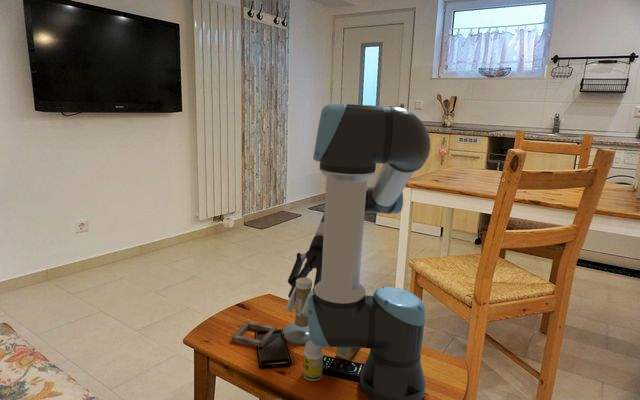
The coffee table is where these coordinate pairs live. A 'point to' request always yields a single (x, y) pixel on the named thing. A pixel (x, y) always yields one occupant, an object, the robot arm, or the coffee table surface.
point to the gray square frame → (248, 341)
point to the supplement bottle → (312, 361)
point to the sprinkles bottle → (302, 300)
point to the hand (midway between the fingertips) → (296, 312)
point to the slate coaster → (296, 334)
